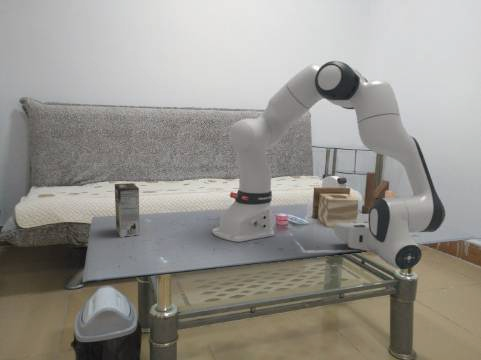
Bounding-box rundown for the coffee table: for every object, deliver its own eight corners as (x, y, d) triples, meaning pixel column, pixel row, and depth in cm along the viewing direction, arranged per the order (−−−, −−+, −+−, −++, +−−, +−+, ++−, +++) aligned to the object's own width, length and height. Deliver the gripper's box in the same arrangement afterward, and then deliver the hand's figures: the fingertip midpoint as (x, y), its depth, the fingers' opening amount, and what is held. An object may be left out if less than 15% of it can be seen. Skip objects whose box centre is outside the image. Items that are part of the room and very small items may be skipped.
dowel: (388, 229, 134) (392, 192, 132) (380, 227, 137) (383, 191, 134) (392, 228, 137) (396, 191, 134) (384, 226, 139) (387, 190, 136)
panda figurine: (350, 210, 162) (353, 177, 159) (331, 213, 156) (333, 178, 154) (331, 204, 172) (334, 173, 170) (313, 207, 167) (315, 174, 164)
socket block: (356, 226, 134) (358, 199, 132) (327, 226, 132) (329, 199, 131) (344, 218, 144) (346, 193, 143) (317, 218, 143) (319, 193, 141)
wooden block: (386, 213, 159) (390, 172, 156) (367, 215, 154) (370, 173, 151) (380, 211, 162) (383, 171, 159) (361, 213, 158) (364, 172, 155)
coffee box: (115, 230, 125) (114, 183, 123) (134, 227, 128) (133, 182, 126) (119, 237, 117) (118, 188, 115) (140, 235, 120) (139, 187, 118)
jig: (374, 237, 125) (378, 200, 123) (329, 238, 123) (332, 200, 121) (347, 219, 147) (350, 187, 145) (309, 219, 145) (311, 187, 143)
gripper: (413, 226, 106) (389, 214, 120) (346, 227, 104) (329, 214, 118) (411, 247, 107) (387, 232, 121) (344, 248, 105) (327, 233, 119)
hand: (358, 223), depth 119 cm, fingers open, 3 cm apart
